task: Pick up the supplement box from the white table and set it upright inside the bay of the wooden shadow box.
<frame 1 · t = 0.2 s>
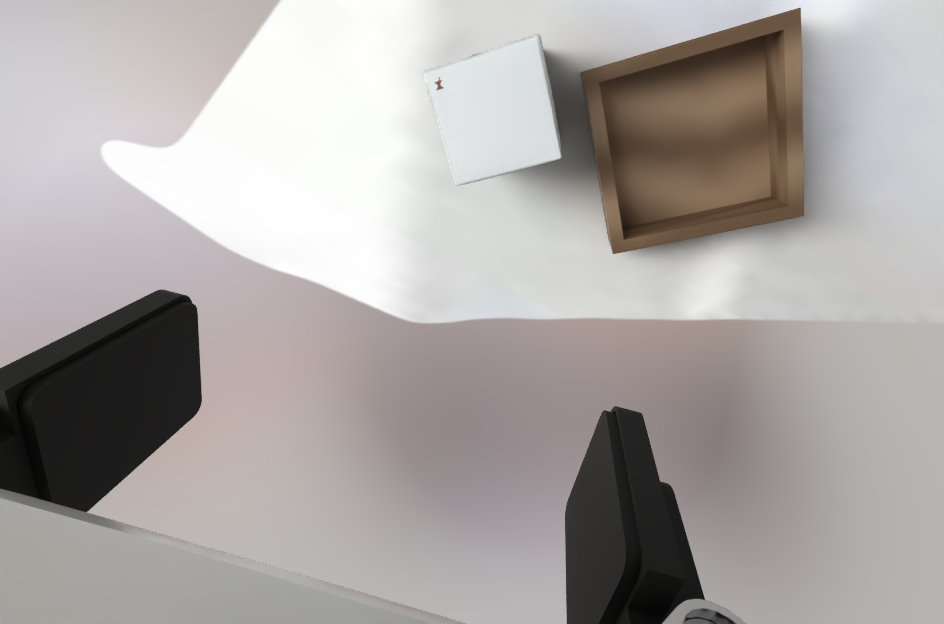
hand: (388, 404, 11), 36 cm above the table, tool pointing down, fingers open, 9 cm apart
wooden shadow box: (682, 139, 40), on the table
supplement box: (510, 106, 42), on the table
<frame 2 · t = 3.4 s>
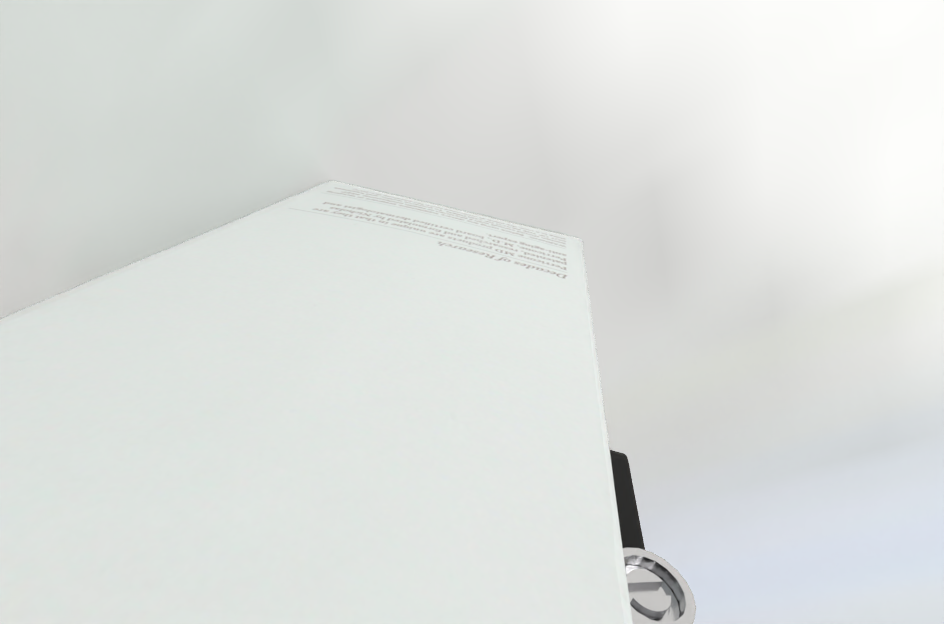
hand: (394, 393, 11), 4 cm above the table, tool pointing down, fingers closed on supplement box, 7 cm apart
supplement box: (434, 319, 15), on the table, touching gripper
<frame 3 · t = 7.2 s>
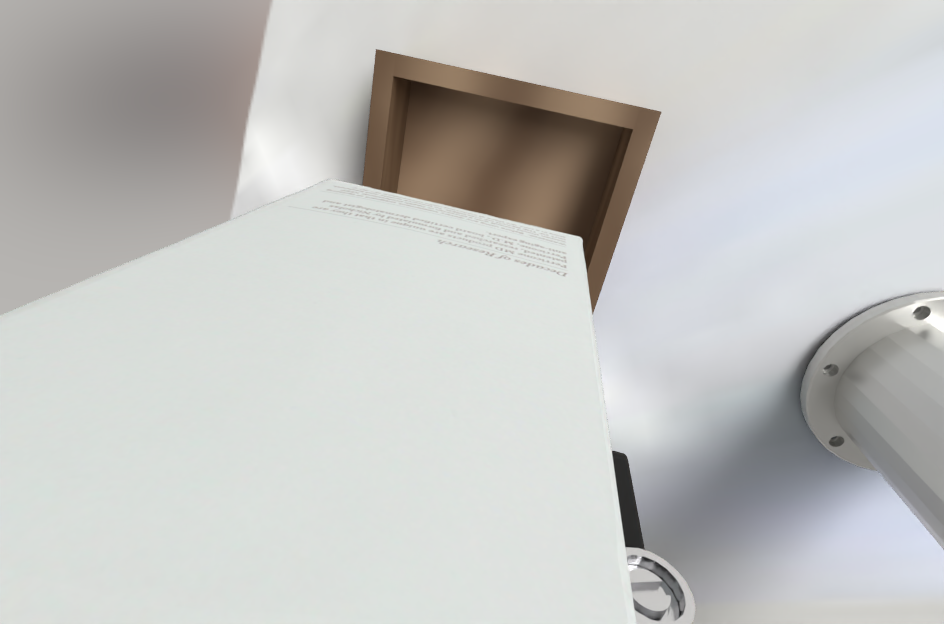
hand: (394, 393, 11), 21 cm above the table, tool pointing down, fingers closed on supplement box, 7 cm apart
wooden shadow box: (495, 203, 31), on the table
supplement box: (434, 317, 15), point 17 cm above the table, touching gripper
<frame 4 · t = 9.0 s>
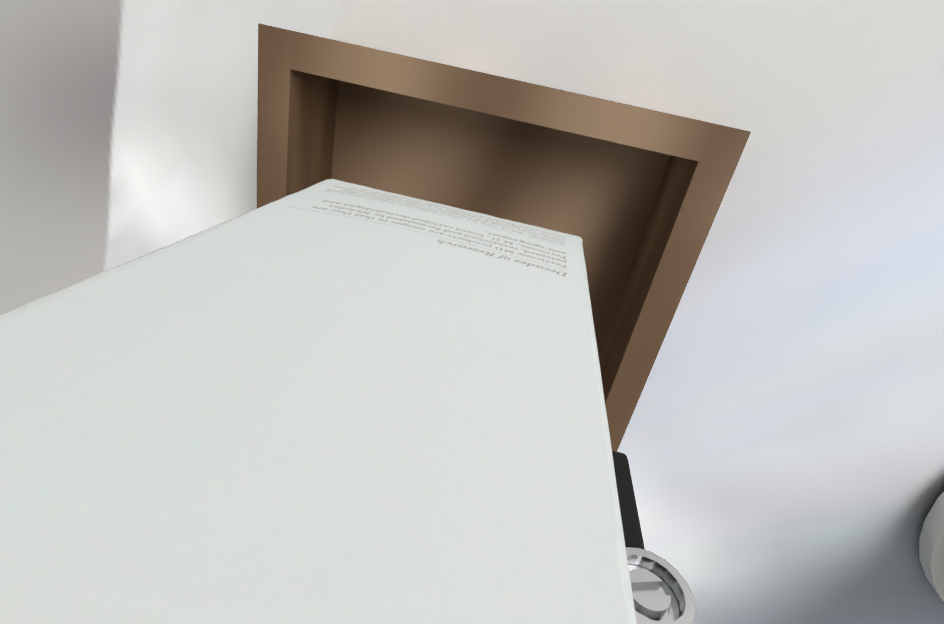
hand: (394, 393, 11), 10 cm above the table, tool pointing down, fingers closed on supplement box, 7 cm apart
wooden shadow box: (473, 260, 21), on the table
supplement box: (434, 317, 15), point 6 cm above the table, touching gripper
when the fingers open (7 cm above the table, at t = 10.8 s): supplement box drops 2 cm, resting on wooden shadow box.
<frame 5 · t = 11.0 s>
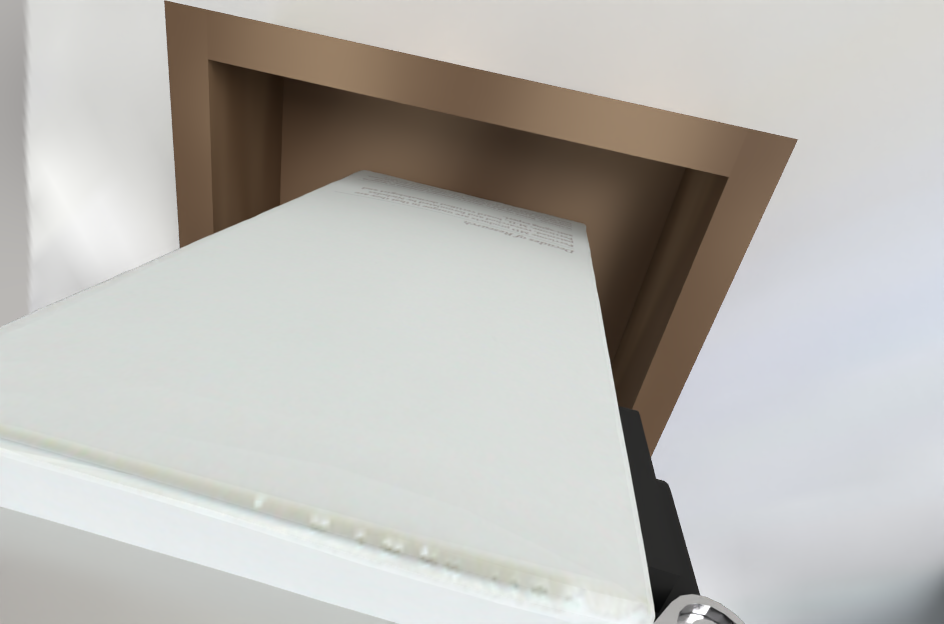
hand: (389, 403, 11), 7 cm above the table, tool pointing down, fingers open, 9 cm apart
wooden shadow box: (451, 287, 18), on the table
supplement box: (451, 296, 17), point 1 cm above the table, touching wooden shadow box
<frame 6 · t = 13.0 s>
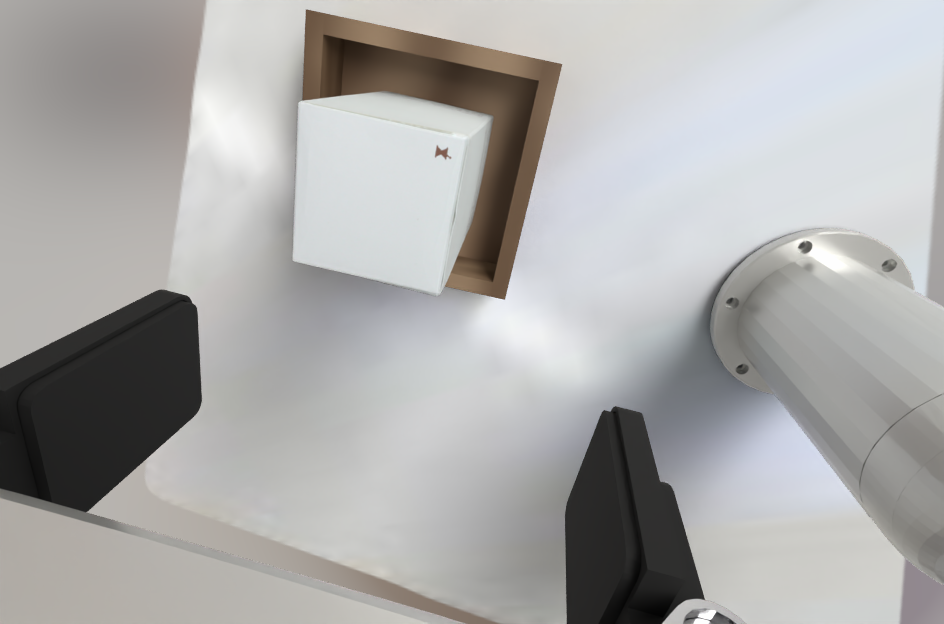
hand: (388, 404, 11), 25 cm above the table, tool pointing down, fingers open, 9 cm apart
wooden shadow box: (429, 158, 33), on the table
supplement box: (429, 160, 33), point 1 cm above the table, touching wooden shadow box
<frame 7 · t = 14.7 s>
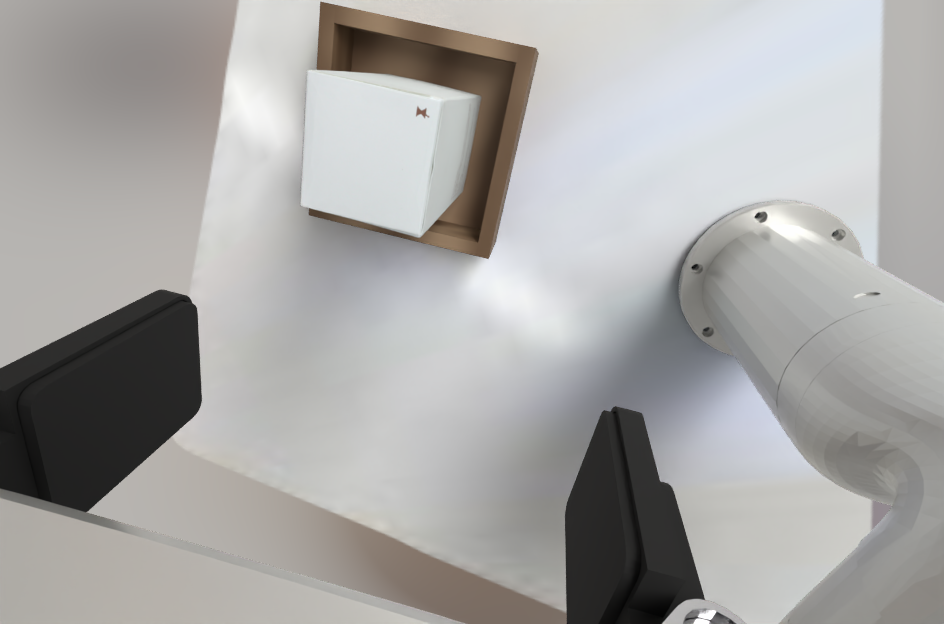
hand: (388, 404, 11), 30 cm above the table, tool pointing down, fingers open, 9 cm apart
wooden shadow box: (426, 134, 38), on the table
supplement box: (426, 136, 37), point 1 cm above the table, touching wooden shadow box
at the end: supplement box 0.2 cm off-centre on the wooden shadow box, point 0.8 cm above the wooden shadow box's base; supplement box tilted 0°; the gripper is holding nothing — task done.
